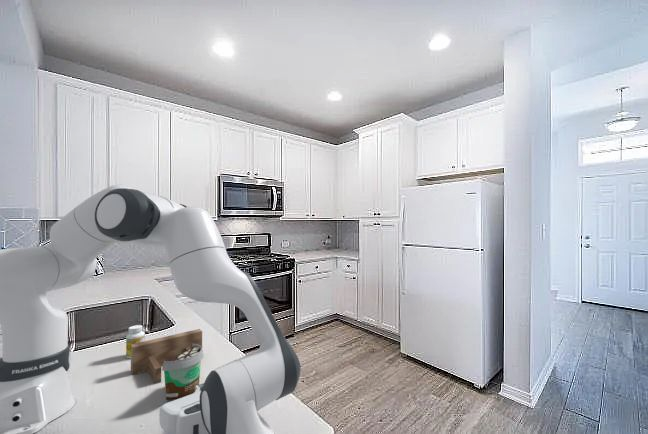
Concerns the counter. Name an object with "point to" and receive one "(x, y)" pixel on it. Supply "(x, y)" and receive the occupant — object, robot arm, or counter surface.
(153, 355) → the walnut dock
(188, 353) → the food container
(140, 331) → the supplement bottle
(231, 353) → the counter surface
